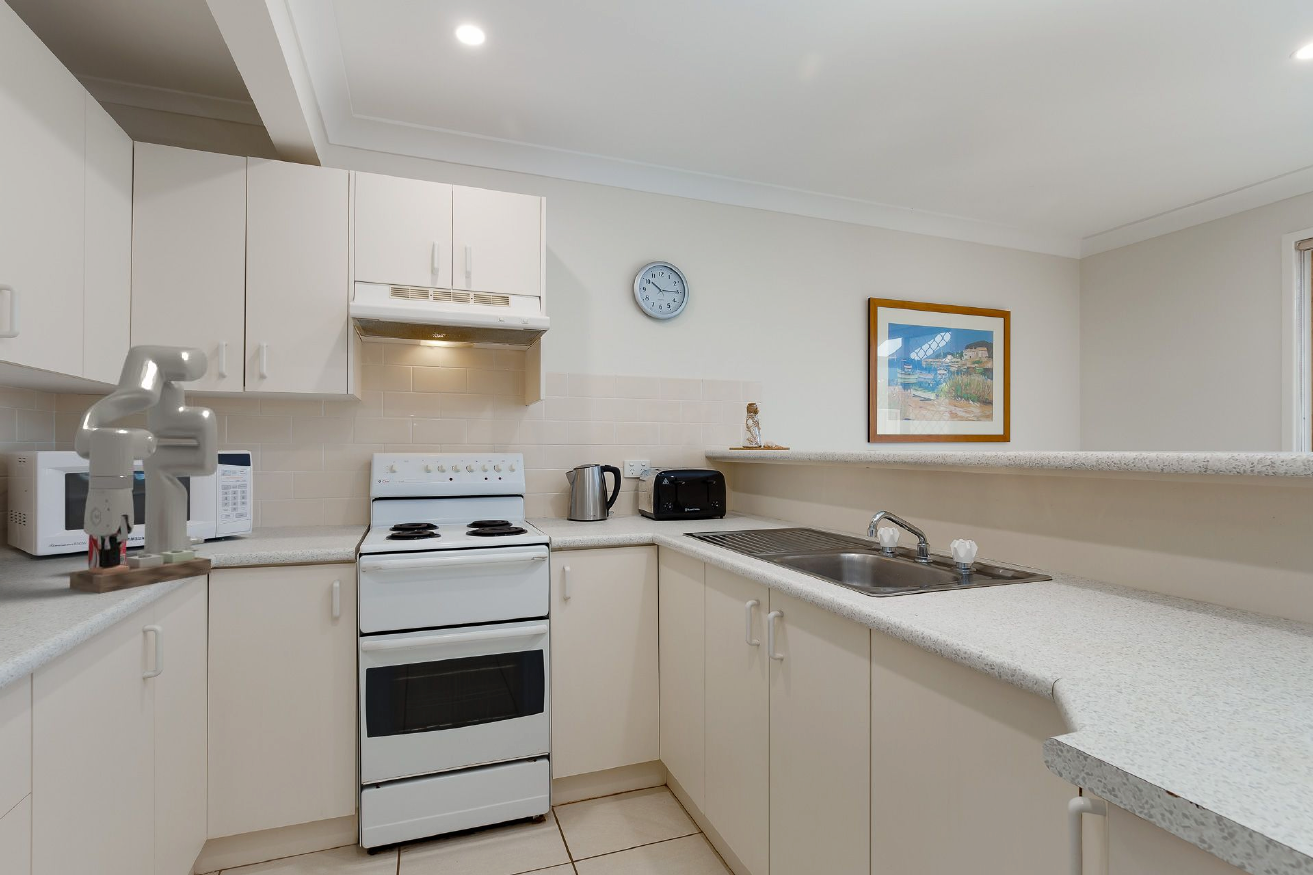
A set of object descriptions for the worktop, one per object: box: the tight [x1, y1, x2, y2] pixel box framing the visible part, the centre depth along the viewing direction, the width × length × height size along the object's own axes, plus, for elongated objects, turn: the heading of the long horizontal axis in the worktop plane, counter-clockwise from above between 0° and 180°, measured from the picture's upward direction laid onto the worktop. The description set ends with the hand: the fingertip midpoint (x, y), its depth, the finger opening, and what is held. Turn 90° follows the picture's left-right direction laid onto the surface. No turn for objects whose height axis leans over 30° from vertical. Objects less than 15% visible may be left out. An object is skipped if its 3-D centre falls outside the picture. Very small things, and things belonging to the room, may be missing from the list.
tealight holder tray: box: [69, 556, 212, 594], centre depth 147 cm, size 23×11×4 cm, turn 159°
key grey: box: [125, 554, 164, 568], centre depth 147 cm, size 5×5×3 cm
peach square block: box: [88, 565, 129, 574], centre depth 141 cm, size 5×5×3 cm
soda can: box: [87, 533, 127, 569], centre depth 157 cm, size 7×7×12 cm
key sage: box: [159, 550, 196, 563], centre depth 154 cm, size 5×5×3 cm
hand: (109, 566), depth 141 cm, fingers closed
